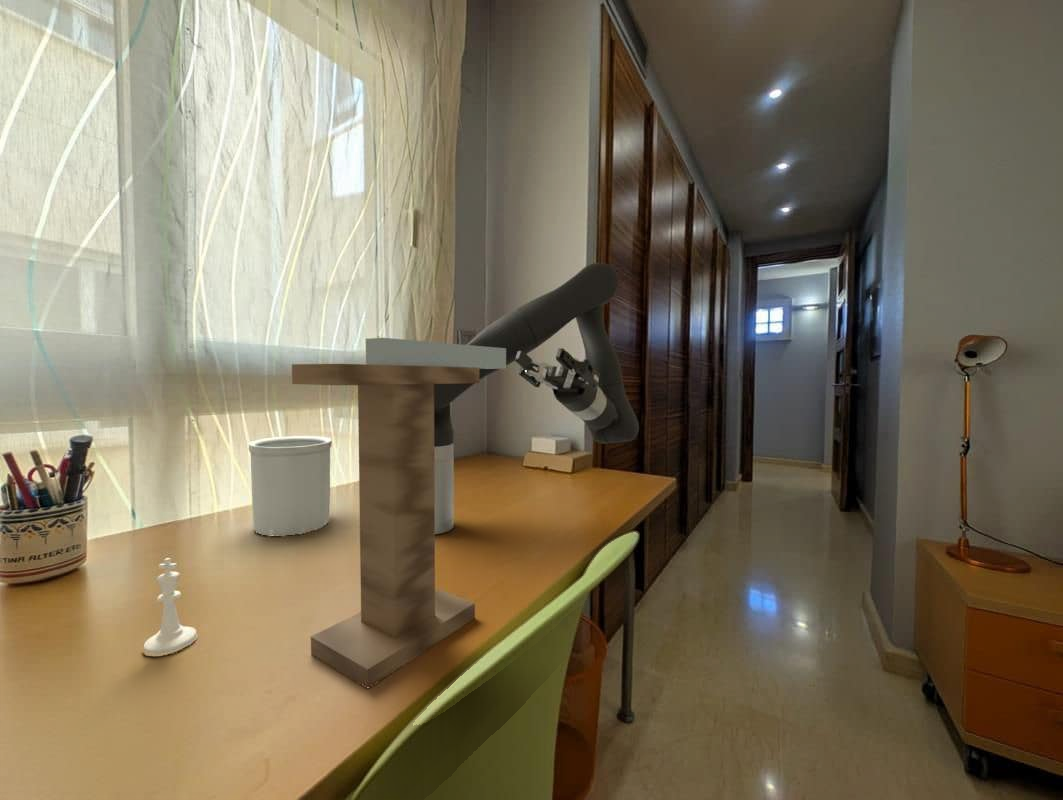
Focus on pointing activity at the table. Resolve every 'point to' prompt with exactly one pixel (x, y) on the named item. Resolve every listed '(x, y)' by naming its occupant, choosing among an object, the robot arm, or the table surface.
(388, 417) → the walnut stand
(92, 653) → the table surface
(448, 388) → the robot arm
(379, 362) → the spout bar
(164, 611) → the chess piece
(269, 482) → the utensil holder
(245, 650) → the table surface
